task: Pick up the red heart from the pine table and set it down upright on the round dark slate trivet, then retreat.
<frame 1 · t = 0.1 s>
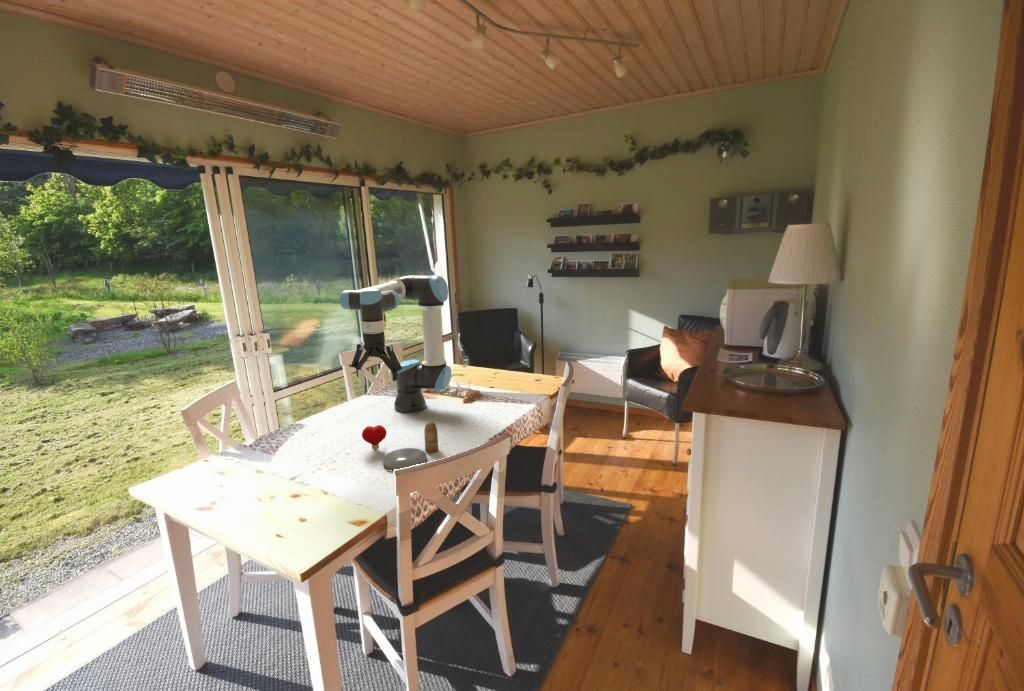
hand: (377, 387, 178), 28 cm above the table, fingers open, 13 cm apart
trivet: (405, 461, 180), on the table
red heart: (375, 450, 189), on the table
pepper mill: (431, 450, 188), on the table
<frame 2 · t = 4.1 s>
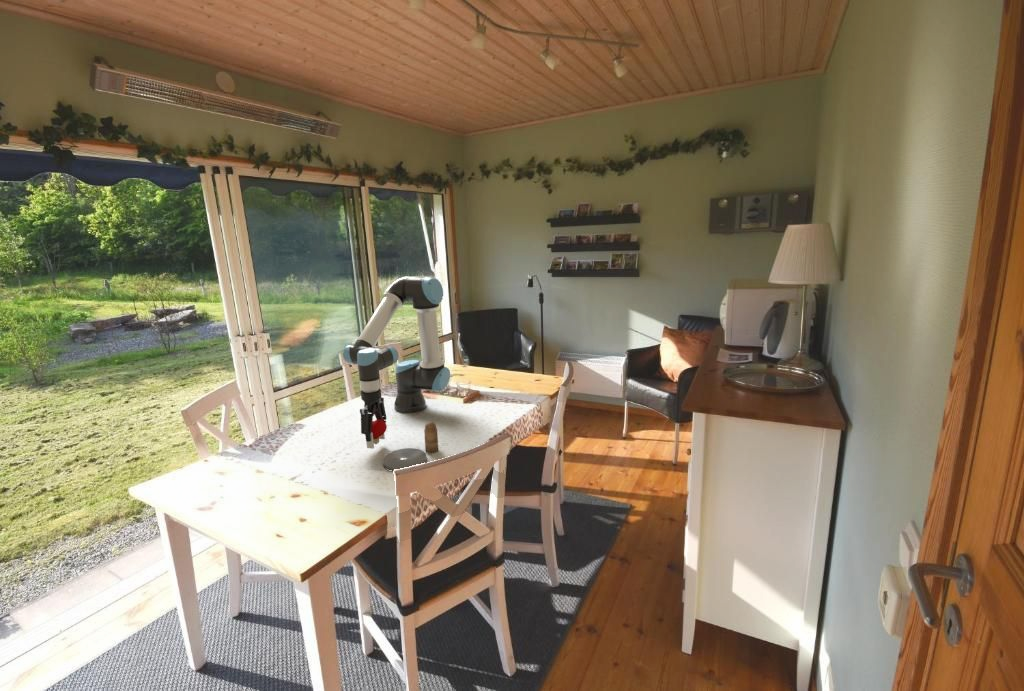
hand: (376, 443, 189), 3 cm above the table, fingers closed on red heart, 7 cm apart
red heart: (376, 444, 189), point 2 cm above the table, touching gripper
everything else where it was.
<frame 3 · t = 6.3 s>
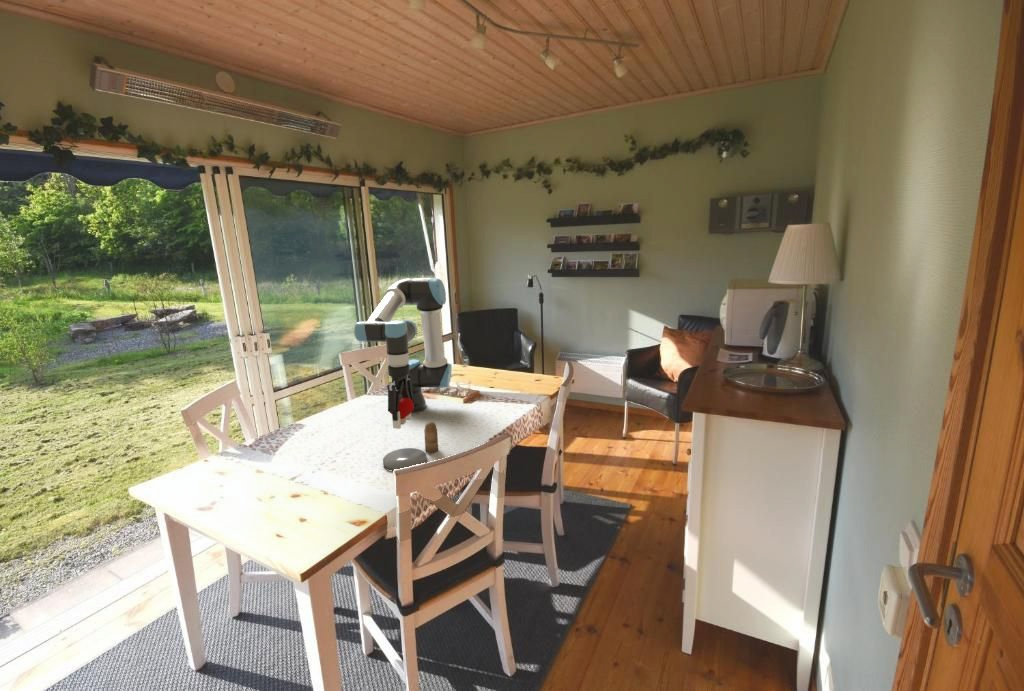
hand: (402, 423, 176), 15 cm above the table, fingers closed on red heart, 7 cm apart
red heart: (402, 424, 176), point 15 cm above the table, touching gripper
everything else where it was.
when the fingers open (3 cm above the table, at t = 8.8 s): red heart stays where it is, resting on trivet.
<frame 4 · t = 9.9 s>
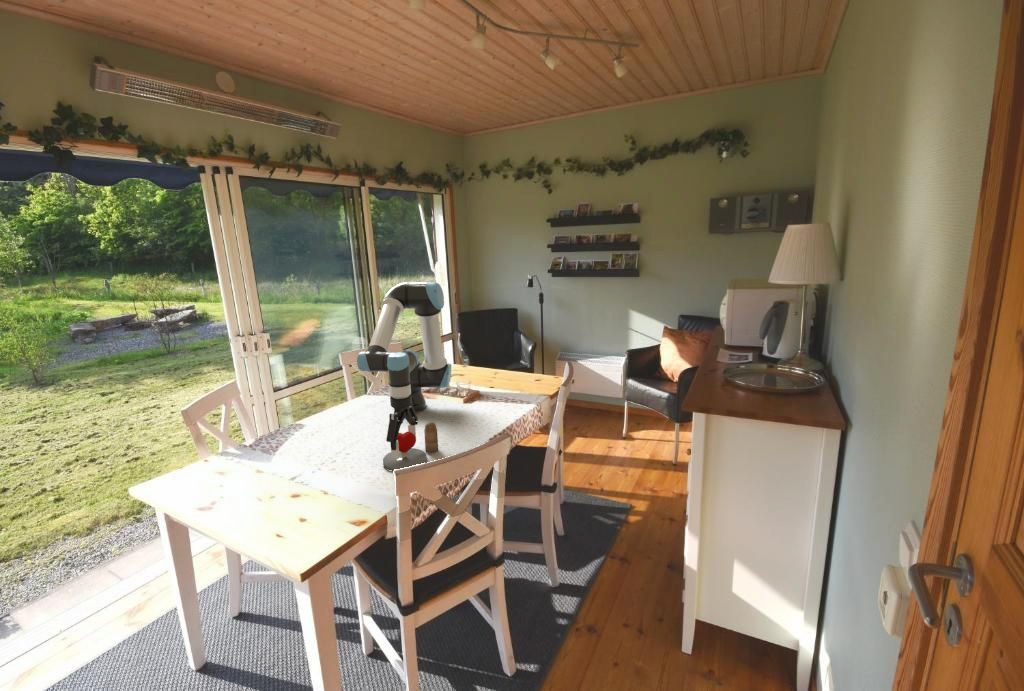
hand: (404, 448, 179), 5 cm above the table, fingers open, 13 cm apart
red heart: (404, 458, 179), point 1 cm above the table, touching trivet
everything else where it was.
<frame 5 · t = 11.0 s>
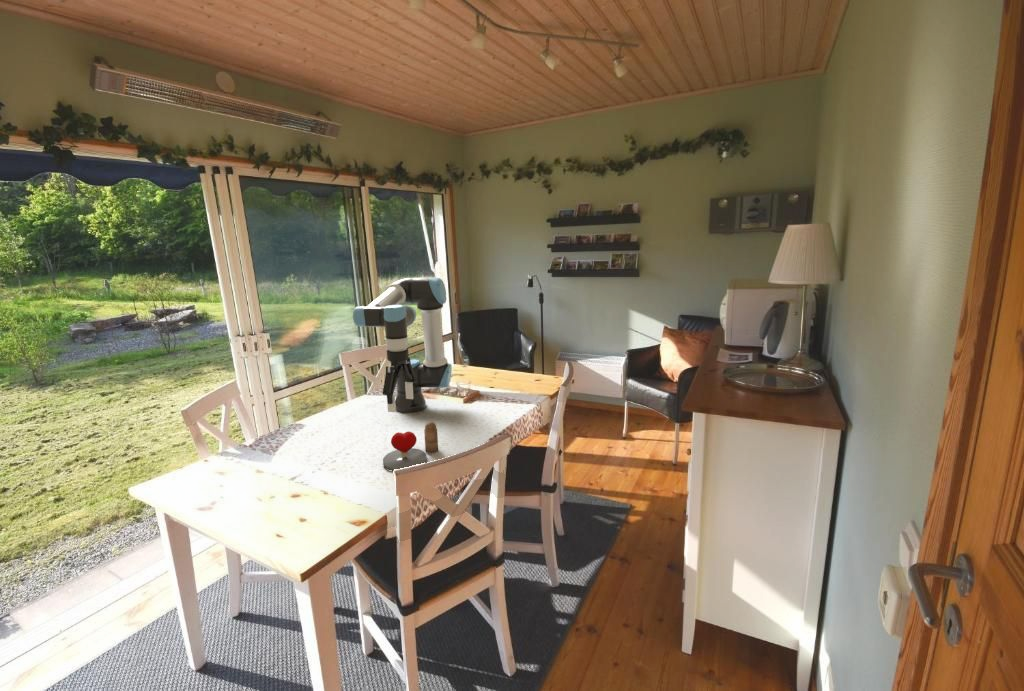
hand: (401, 405, 174), 23 cm above the table, fingers open, 13 cm apart
nothing on the table moved.
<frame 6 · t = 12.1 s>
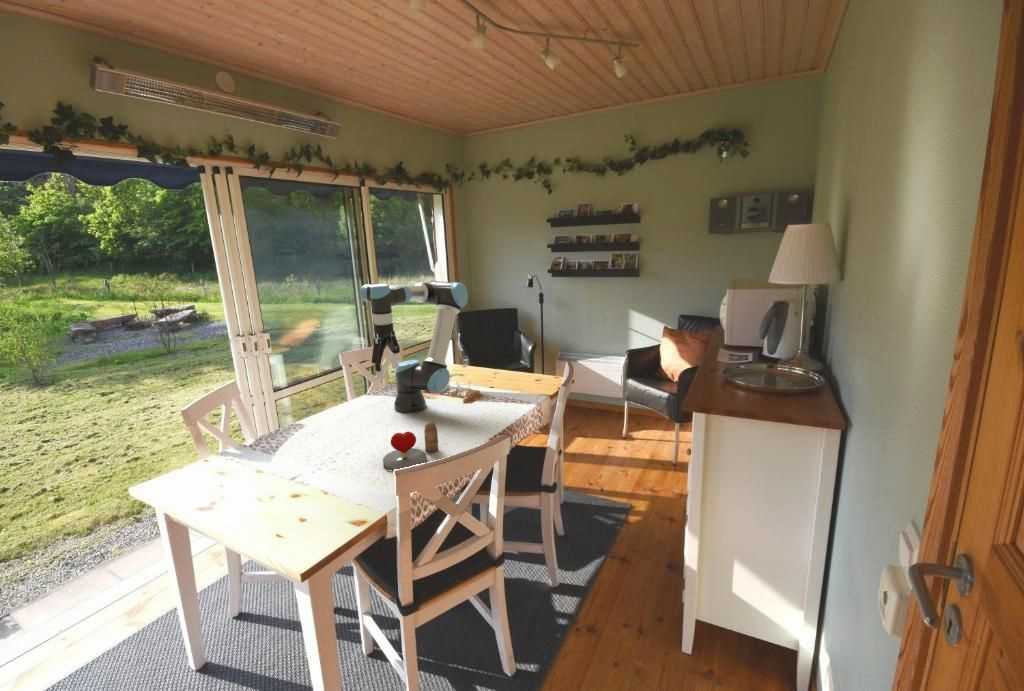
hand: (388, 373, 197), 27 cm above the table, fingers open, 13 cm apart
nothing on the table moved.
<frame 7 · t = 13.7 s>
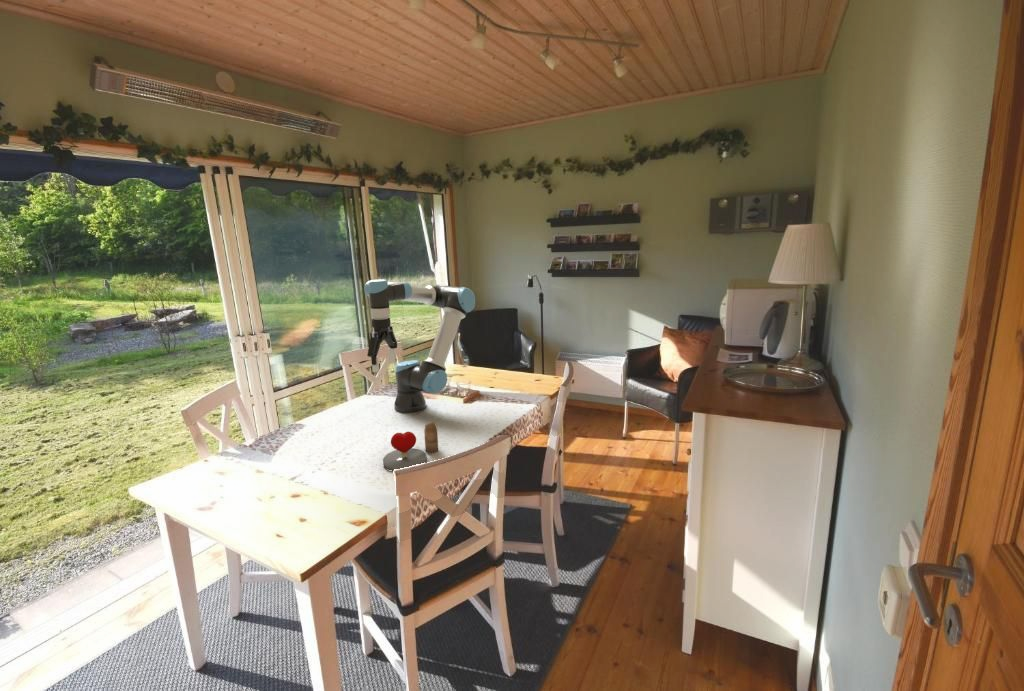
hand: (384, 367, 200), 29 cm above the table, fingers open, 13 cm apart
nothing on the table moved.
at the end: red heart 0.1 cm from the trivet (horizontally); red heart touching trivet; the gripper is holding nothing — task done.
